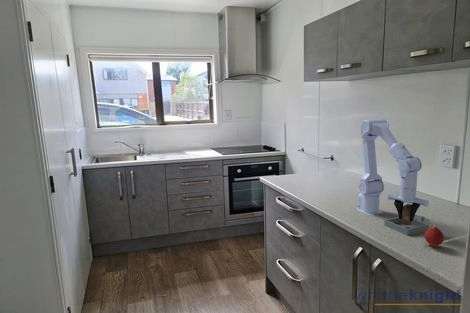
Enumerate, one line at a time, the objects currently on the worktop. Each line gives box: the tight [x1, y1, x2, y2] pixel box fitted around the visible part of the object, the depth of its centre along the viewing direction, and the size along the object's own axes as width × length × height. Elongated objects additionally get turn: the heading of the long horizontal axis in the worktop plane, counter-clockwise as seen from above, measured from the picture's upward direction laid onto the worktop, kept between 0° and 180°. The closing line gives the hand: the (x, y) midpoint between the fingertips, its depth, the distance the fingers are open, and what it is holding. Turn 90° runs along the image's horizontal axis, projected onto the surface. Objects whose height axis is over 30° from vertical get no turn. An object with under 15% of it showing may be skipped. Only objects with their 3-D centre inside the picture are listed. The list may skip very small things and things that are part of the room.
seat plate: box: [397, 213, 431, 223], centre depth 135 cm, size 9×9×2 cm
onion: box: [423, 225, 445, 248], centre depth 110 cm, size 6×6×8 cm
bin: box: [383, 216, 430, 237], centre depth 125 cm, size 11×11×3 cm
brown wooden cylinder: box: [400, 203, 412, 227], centre depth 125 cm, size 4×5×8 cm
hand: (406, 219), depth 125 cm, fingers closed on brown wooden cylinder, 3 cm apart
